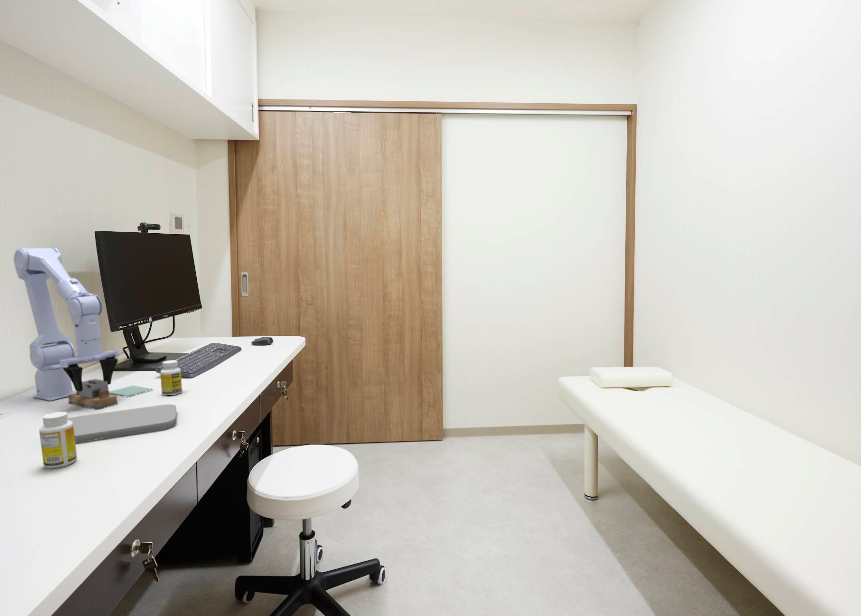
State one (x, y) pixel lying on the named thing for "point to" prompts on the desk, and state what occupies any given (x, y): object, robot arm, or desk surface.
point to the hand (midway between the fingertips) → (93, 387)
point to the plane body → (94, 400)
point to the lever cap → (93, 388)
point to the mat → (129, 391)
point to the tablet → (123, 422)
